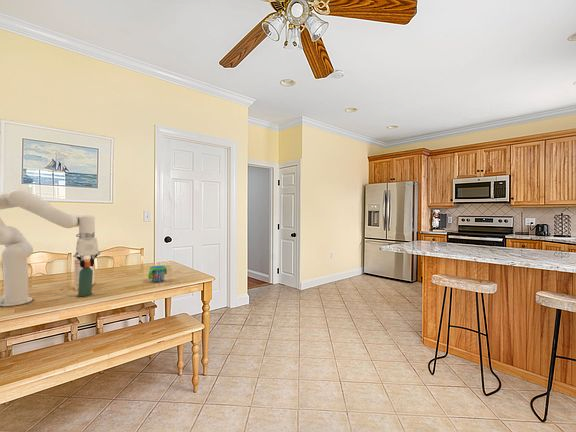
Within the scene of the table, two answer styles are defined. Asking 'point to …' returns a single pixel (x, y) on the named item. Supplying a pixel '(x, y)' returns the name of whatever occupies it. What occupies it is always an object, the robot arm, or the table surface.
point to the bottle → (85, 281)
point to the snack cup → (157, 273)
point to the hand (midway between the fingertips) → (87, 266)
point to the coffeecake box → (78, 268)
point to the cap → (87, 263)
